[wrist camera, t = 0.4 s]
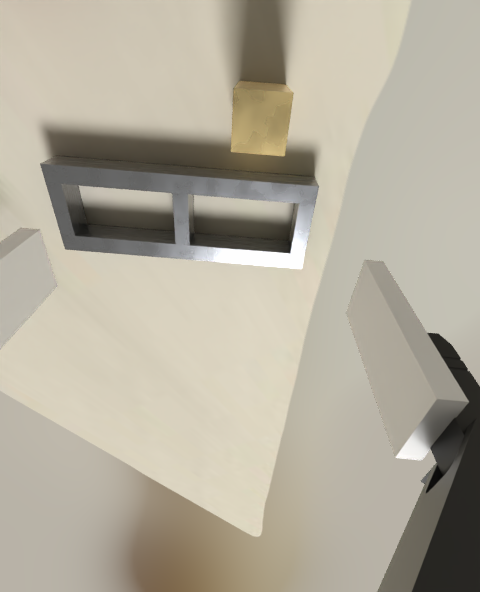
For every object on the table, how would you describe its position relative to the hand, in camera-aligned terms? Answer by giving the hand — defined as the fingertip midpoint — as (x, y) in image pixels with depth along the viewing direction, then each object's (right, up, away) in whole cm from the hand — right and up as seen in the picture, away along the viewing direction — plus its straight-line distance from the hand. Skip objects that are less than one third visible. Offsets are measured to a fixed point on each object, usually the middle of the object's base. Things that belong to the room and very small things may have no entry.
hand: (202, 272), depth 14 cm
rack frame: (-4, +8, +22) cm, 23 cm away
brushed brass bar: (+3, +16, +16) cm, 23 cm away
